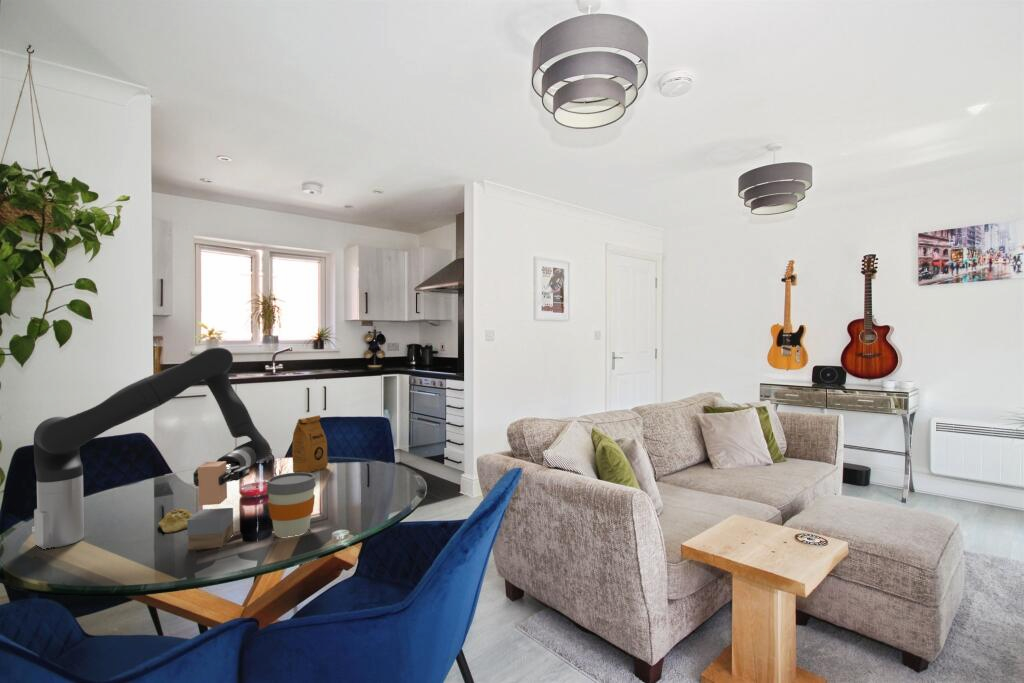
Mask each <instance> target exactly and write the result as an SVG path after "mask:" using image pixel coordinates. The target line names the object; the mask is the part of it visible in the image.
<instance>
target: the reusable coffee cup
mask: <svg viewBox="0 0 1024 683" xmlns="http://www.w3.org/2000/svg"><path fill="white" fill-rule="evenodd" d="M316 485H317V484H316V477H315V474H314V473H312V472H310V473H304V472H298V473H294V472H289V473H288V472H287V473H283V474H282V473H281V474H278V475H275V476H274V475H273V476H272V477H270V478H269V479H267V485H266V493H267V494H268V495H267V496H268V500H267V506H268V512H269V513H268V514H269V518H270V519H271V521H272V527H273V533H274V534H275V535H277V536H280V537H288V536H295V535H300V534H302V533H304V532H306V531H307V530H308V529H309V530H310V528H311V527H310V525H311V518H312V514H313V513H314V507H315V506H314V505H315V497H316V496H315V494H314V492H315V487H316ZM274 534H273V535H274ZM275 535H274V536H275Z"/></svg>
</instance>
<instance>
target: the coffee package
mask: <svg viewBox="0 0 1024 683" xmlns="http://www.w3.org/2000/svg"><path fill="white" fill-rule="evenodd" d="M321 419H322V418H321V415H320V414H318V415H314V416H310V417H309V416H308V417H305V418H299V419H298V420H297V423H296V425H295V428H294V429H293V430H294V431H293V432H292V434H293V435H292V448H291V449H292V450H291V451H292V473H298V472H304V473H312V472H317V471H320V470H323V469H326V468H327V467H328V441H327V437H326V435H325V432H324V429H323V427H322V425H321V422H320V420H321Z"/></svg>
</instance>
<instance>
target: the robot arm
mask: <svg viewBox="0 0 1024 683" xmlns="http://www.w3.org/2000/svg"><path fill="white" fill-rule="evenodd" d="M233 362H234V357H233V354H232V352H231V351H230V350H229V349H227V348H225V347H221V346H212V347H209V348H207V349H205V350H203V351H202V352H200V353H198V354H196V355H195V356H193V357H192V358H191V357H190V359H188V360H186V361H184V362H182V363H180V364H178V365H175V366H172V367H169V368H166V369H163V370H161V371H159V372H156V373H153V374H151V375H149V376H147V377H144V378H142V379H139V380H137V381H135V382H133V383H131V384H128V385H127V386H125V387H123V388H120V389H119V390H118V391H116V392H115V393H113V394H112V395H110V396H109V397H108V398H107V399H105V400H103V401H102V402H101V403H99V404H97V405H95V406H93V407H91V408H89V409H86V410H83V411H81V412H79V413H76V414H73V415H70V416H68V417H66V416H53V417H50V418H47V419H45V420H43V421H42V422H40V423H39V424H38V425H37V427H36V428H35V430H34V432H33V457H34V458H33V459H34V468H35V469H34V470H35V473H36V474H35V475H36V505H37V506H36V508H35V509H33V510H34V511H33V521H34V522H33V523H34V525H33V526H34V528H33V529H34V530H33V531H34V533H33V534H34V545H35V544H36V545H37V546H39V547H41V548H42V549H41V548H40V549H41V550H43V549H45V550H47V549H46V548H49V549H53V547H55V548H60V547H65V546H69V545H72V544H75V543H77V542H80V541H81V540H83V539H84V538H85V524H84V522H85V521H84V520H85V519H84V517H85V516H84V468H83V467H84V465H83V463H82V460H81V455H80V453H81V452H80V448H81V447H82V446H84V445H85V444H86V443H88V442H90V441H91V440H93V439H95V438H97V437H99V436H100V435H102V434H103V433H105V432H107V431H108V430H110V429H113V428H115V427H117V426H119V425H121V424H124V423H127V422H129V421H131V420H134V419H135V418H137V417H139V416H141V415H144V414H146V413H149V412H150V411H153V410H154V409H156V408H158V407H161V406H162V405H164V404H167V403H168V402H169V401H171V400H172V399H175V398H176V397H177V396H179V395H180V394H182V393H183V392H185V391H186V390H187V389H189V388H191V386H193V385H195V384H197V383H199V382H201V381H204V382H205V385H206V386H207V387H208V389H209V391H210V392H211V394H212V396H213V398H214V399H215V401H216V403H217V406H218V407H219V409H220V412H221V415H222V416H223V419H224V421H225V423H226V426H227V429H228V430H229V432H230V435H231V436H232V437H233V438H236V439H237V438H243V437H248V438H249V439H250V440H248V441H247V442H245V443H243V444H239V445H238V446H236V447H235V448H234V449H233V450H231V451H229V452H227V453H226V454H224V455H223V456H221V457H219V458H218V459H217V460H216V461H215V462H221V461H226V473H224V474H223V475H221V476H220V477H219V485H223V484H224V483H226V482H227V483H230V482H233V481H236V482H237V481H239V480H242V479H243V478H245V477H247V476H249V475H250V468H251V467H252V466H253V465H254V464H255V463H256V462H259V461H262V460H264V459H266V458H267V457H269V456H270V454H271V445H270V444H269V442H268V441H267V439H266V438H265V437H264V436H263V435H262V434H261V433H260V431H259V430H258V429H257V427H256V426H255V425H254V422H253V419H252V416H251V415H250V412H249V411H248V409H247V407H246V405H245V404H244V402H243V401H242V399H241V398H240V397H239V395H238V394H237V392H236V391H235V390H234V388H233V386H232V384H231V381H230V378H229V374H228V371H229V370H230V369H231V367H232V365H233ZM192 474H193V483H194V484H193V485H194V486H195V487H198V486H199V483H198V468H196V469H195V470H194V472H193V473H192ZM37 546H36V547H37ZM39 547H38V548H39ZM51 547H52V548H51Z"/></svg>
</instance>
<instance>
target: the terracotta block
mask: <svg viewBox="0 0 1024 683" xmlns="http://www.w3.org/2000/svg"><path fill="white" fill-rule="evenodd" d="M197 469H198V483H199V486H197V487H198V492H197V493H198V506H211V505H221V503H223V502H224V501H225V500H227V498H228V490H227V489H228V485H227V484H228V482H226V483H224V484H223V485H219V477H220V476H221V475H223V474H224V473H226V461H221V462H216V461H207V462H206V461H205V463H202V464H201V465H199V466H198V467H197Z"/></svg>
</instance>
